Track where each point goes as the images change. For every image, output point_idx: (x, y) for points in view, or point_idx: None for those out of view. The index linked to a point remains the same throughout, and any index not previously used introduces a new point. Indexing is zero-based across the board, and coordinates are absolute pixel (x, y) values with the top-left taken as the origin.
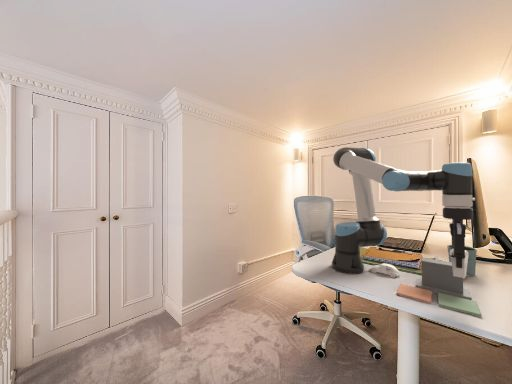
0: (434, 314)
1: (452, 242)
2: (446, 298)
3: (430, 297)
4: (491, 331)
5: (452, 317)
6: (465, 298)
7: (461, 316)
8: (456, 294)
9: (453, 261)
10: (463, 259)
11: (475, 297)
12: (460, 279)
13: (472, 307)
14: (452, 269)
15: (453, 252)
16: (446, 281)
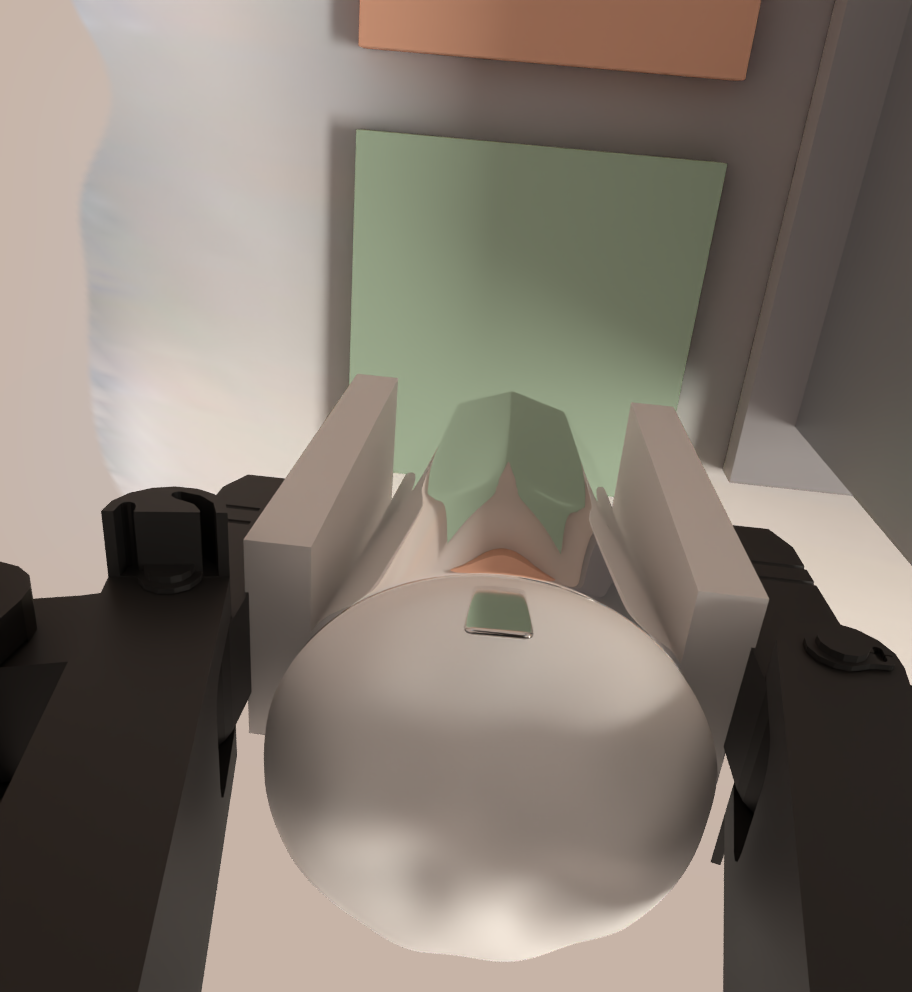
0: (102, 57)
1: (819, 943)
2: (573, 232)
3: (486, 45)
4: (131, 458)
5: (166, 222)
6: (734, 426)
7: (250, 304)
8: (761, 358)
9: (285, 490)
10: (258, 702)
11: (837, 521)
12: (869, 476)
13: None
14: (505, 411)
15: (322, 633)
16: (887, 296)
